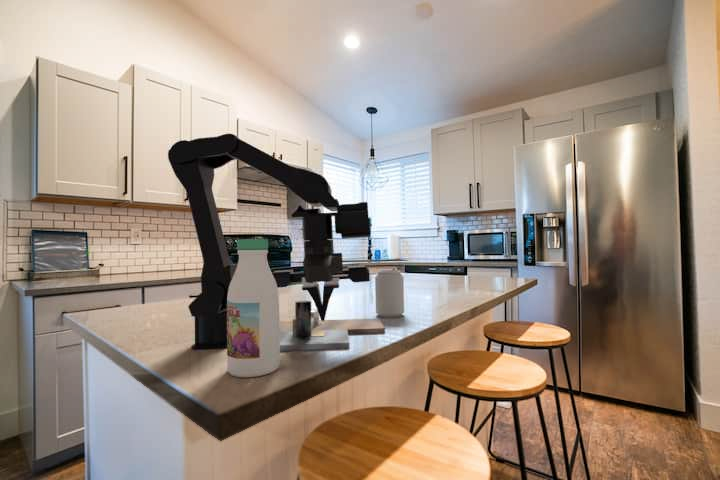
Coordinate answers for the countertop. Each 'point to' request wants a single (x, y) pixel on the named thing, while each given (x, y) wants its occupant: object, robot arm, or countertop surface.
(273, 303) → the milk bottle
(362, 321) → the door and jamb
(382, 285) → the can
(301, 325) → the lock bar
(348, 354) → the countertop surface
